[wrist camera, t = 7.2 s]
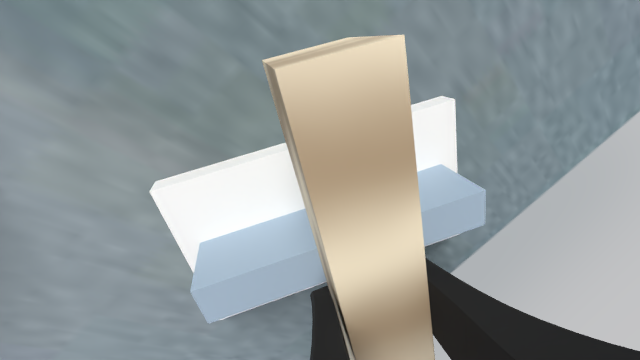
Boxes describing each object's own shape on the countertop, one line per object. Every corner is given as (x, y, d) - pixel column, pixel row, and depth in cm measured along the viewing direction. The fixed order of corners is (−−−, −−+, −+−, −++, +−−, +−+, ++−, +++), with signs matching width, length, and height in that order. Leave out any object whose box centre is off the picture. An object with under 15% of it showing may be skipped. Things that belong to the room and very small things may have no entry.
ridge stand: (448, 224, 21) (500, 269, 17) (220, 305, 20) (215, 378, 15) (441, 95, 17) (507, 112, 13) (155, 181, 16) (124, 233, 11)
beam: (403, 362, 18) (442, 438, 15) (355, 381, 18) (384, 464, 15) (347, 37, 10) (404, 34, 7) (261, 60, 10) (274, 69, 7)
